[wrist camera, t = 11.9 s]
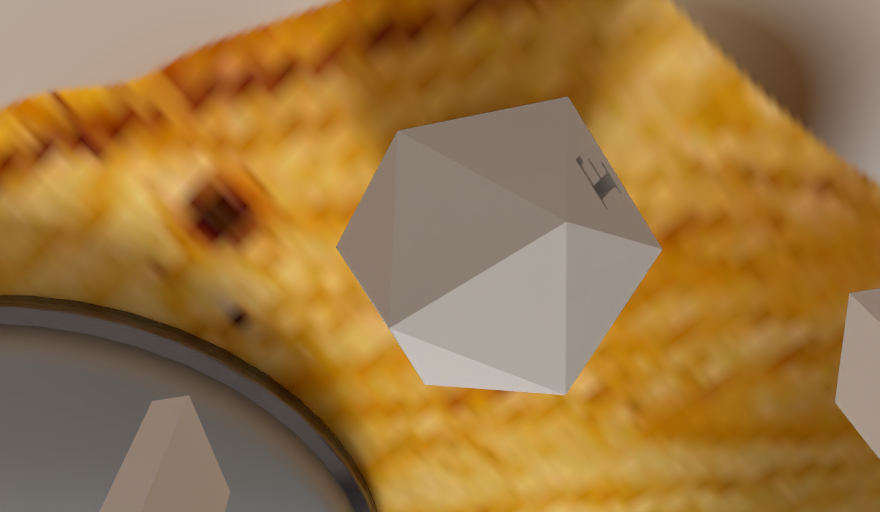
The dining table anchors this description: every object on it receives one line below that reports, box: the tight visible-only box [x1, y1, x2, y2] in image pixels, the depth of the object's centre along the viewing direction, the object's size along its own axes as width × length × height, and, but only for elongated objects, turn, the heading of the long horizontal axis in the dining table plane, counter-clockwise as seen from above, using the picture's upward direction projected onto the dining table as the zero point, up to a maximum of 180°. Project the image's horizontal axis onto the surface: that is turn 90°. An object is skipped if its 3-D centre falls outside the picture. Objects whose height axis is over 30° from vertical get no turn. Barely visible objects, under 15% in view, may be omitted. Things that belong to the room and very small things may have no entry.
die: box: [336, 97, 662, 395], centre depth 21 cm, size 8×9×10 cm
